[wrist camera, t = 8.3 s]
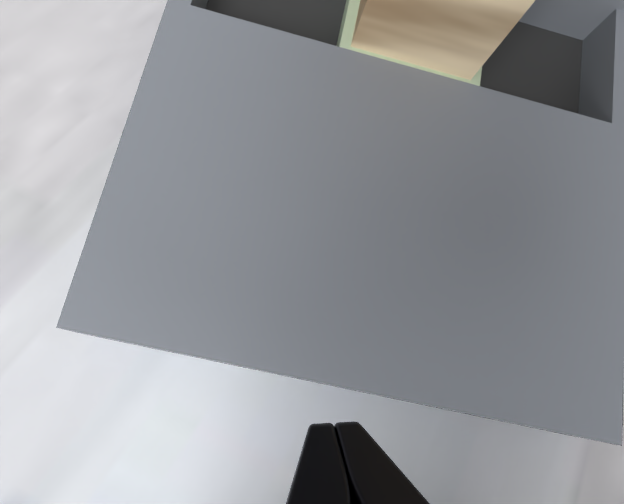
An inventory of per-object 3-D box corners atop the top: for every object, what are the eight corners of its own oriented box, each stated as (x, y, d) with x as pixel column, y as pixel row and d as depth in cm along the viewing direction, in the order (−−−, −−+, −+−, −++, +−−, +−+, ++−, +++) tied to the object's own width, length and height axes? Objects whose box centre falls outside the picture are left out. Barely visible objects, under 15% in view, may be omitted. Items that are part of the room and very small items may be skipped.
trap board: (573, 436, 23) (651, 451, 19) (81, 333, 21) (40, 323, 16) (593, 35, 29) (657, -24, 25) (215, -78, 27) (211, -165, 22)
